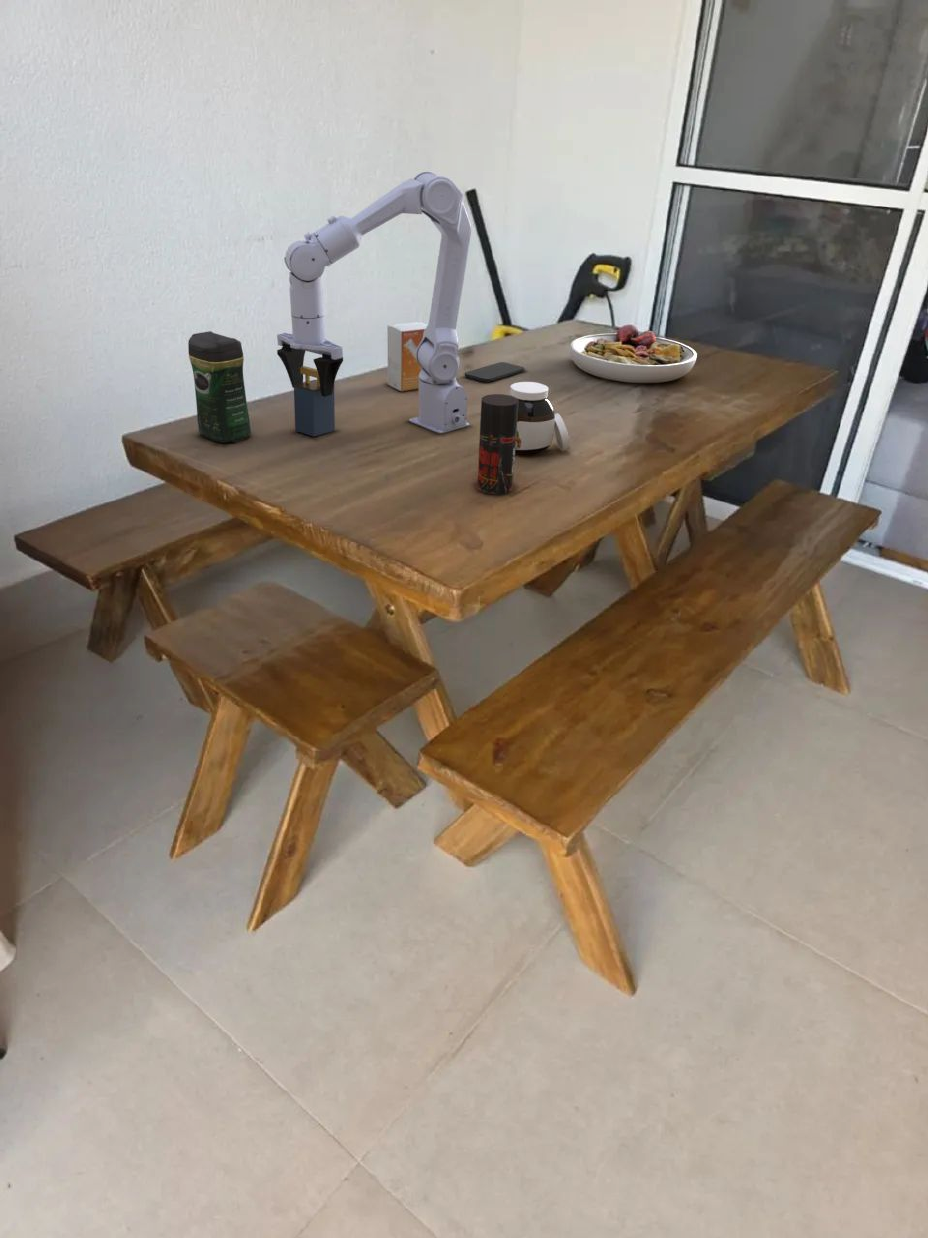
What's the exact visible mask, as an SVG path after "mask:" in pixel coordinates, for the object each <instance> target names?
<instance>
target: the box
mask: <svg viewBox="0 0 928 1238" xmlns="http://www.w3.org/2000/svg"><path fill="white" fill-rule="evenodd" d="M300 373H301V374H303V376H304V378H305V379H304V380H305V381H303V382H302V383H298V384H294V388H293V403H294V404H293V405H294V408H293V409H294V431H295V432H298V433H301V434H305V435H307V436H311V437H317V436H322V435H324V434H329V433H332V432H334V431H336V425H335V424H336V422H335V421H336V420H335V415H336V414H335V413H336V412H335V410H336V409H335V404H336V403H335V402H336V401H335V385H336V384H334V387H333V392H332V395H329V396H326V397H323V396H322V394H321V390H320V380H319V375H318V371H317V368H313V367H310V366H305V365H303V367H300ZM311 377H312V378H316V379H311V380H310V378H311Z"/></svg>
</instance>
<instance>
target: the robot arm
mask: <svg viewBox="0 0 928 1238" xmlns="http://www.w3.org/2000/svg"><path fill="white" fill-rule="evenodd" d="M402 214H407V215H408V214H411V215H422V214H423V215H425V216H426V217H428V218H429V219H430V221H431V222H432V224H433V225H434V226H435V228H436V229H437V230H438V231H439V233H440V234H441V236H440V244H439V250H438V258H437V264H436V270H435V279H434V285H433V292H432V299H431V305H430V311H429V320H428V324H427V325H428V326H427V327H426V329H425V330H424V333H423V338H422V341H421V343H420V344H419V346H418V347H417V350H416V360H417V362H418V364H419V365H420V366H421V372H420V374H419V389H418V410H417V411H418V413H417V414H418V416H415V417H411V418H409V419H408V421H409V422H410V423H412V424H415V425H416V426H419V427H421V428H424V429H427V430H430V431H431V432H435V433H437V434H440V435H441V434H446V433H449V432H452V431H453V432H454V431H456V430H459V429H462V428H466V427H469V426H470V423H469V422H467V413H468V412H467V411H468V393H467V391H466V389H465V387H463V386H462V385H460V384H459V383H458V381H457V376H458V374H459V372H460V369H461V361H460V357H459V346H460V345H459V344H460V343H459V339H458V335H457V325H458V319H459V312H460V308H461V307H460V306H461V300H462V294H463V287H464V282H465V274H466V270H467V269H466V267H467V263H468V262H467V261H468V256H469V249H470V244H471V239H472V238H471V237H472V224H471V222H470V218H469V215H468V212H467V210H466V206H465V204H464V194H463V193H462V191H461V190H460V189H459V188H458V187H457V185H456V184H455V183H454V182H453V181H452V180H451V179H450V178H448V177H446V176H440V175H437V174H435V173H433V172H431V171H421V172H420V173H418V174H416V175H415V176H414V177H413V178H408V179H406V180H404V181H402V182H401V183H400V184H398V185H397V186H395V187H393V188H392V189H391V190H389V191H388V192H387V193H386V194H383V195H382V196H381V197H379V198H378V199H377V200H375V201H374V202H372V203H371V204H370V205H368V206H367V207H365V208H364V209H362V210H361V211H359V212H358V213H357V214H355V215H354V216H352V217H348V216H344V215H339V216H338V217H336V216H334V215H331V216H330V217H328V218H327V224H325V225H323V226H321V227H320V228H318V229H317V230H315V231H314V232H312V233H310V232H307V233H305V234H304V235H303V237H304V239H305V240H296V241H293V242H292V243H291V244H290V245H289V246H288V247H287V249H286V251H285V256H284V258H283V259H284V263H285V267H287V269H288V271H289V272H288V274H289V277H288V281H289V288H288V290H289V303H290V305H289V306H290V317H291V319H290V320H291V330H292V331H291V332H292V333H288V332H281V333H278V334H276V336H277V337H276V339H277V346H280V347H281V348H279V349H277V350H276V355H277V356H278V357H279V359H280V360H281V362H282V363H283V365H284V368H285V370H286V372H287V375H288V379H289V381H290V384H291V387H292V389H294V384H298V383H302V382H304V374H301V373H300V367H303V366H304V360H305V355H306V352H309V353H313V354H317V355H319V357H316V358H313V363H314V365H315V369H317V371H318V375H319V380H320V390H321V394H322V396H323V397H326V396H329V395H332V392H333V387H334V385H335V381H336V378H337V376H338V372H339V370H340V367H342V364H343V362H344V355H343V354H344V353H343V346H341V345H338V344H335V343H333V342H332V341H329V340H328V339H326V330H325V329H326V328H325V314H324V313H325V312H324V296H323V295H324V294H323V292H324V291H323V286H322V275H323V274H324V271H325V268H326V267H330V266H331V265H333V264H335V263H336V262H338V261H340V260H341V259H342V258H344V257H346V256H348V255H349V254H351V253H352V252H354V251H355V250H357V249H358V248H359V247H360V245H361V241H362V238H363V236H365V235H366V234H368V233H369V232H371V231H373V230H375V229H377V228H378V227H380V226H383V225H384V224H385V223H387V222H389V221H391V220H392V219H395V218H396V217H398V216H399V215H402ZM320 355H321V356H320ZM334 388H335V387H334Z"/></svg>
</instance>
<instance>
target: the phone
mask: <svg viewBox="0 0 928 1238" xmlns="http://www.w3.org/2000/svg"><path fill="white" fill-rule="evenodd" d="M524 371H525V367H524V366H522V365H517V364H513V363H509V362H504V361H500V362H496V363H493V364H488V365H486V366H482V367H479V368H476V369H472V370H467V371H465V372H464V377H466V378H469V379H473V380H476V381H479V382H484V383H490V382H494V381H498V380H501V379H503V378H507V377H510V376H513V375H516V374H521V373H523V372H524Z"/></svg>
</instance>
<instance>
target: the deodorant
mask: <svg viewBox="0 0 928 1238" xmlns="http://www.w3.org/2000/svg"><path fill="white" fill-rule="evenodd" d="M480 401H481V405H480V422H479V444H478V464H477V465H478V467H477V483H476V485H477V487H476V488H477V490H478V491H479V492H481V493H484V494H487V495H493V496H499V495H500V496H502V495H507V494H509V493H511V492H512V491H513V488H514V486H513V485H514V475H515V474H514V473H515V459H516V458H515V457H516V454H515V446H516V432H517V418H518V404H519V400H518V399H517V398H516V397H513V396H510V394H503V393H493V394H486V395H484V396H482V397H481V400H480Z"/></svg>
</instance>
